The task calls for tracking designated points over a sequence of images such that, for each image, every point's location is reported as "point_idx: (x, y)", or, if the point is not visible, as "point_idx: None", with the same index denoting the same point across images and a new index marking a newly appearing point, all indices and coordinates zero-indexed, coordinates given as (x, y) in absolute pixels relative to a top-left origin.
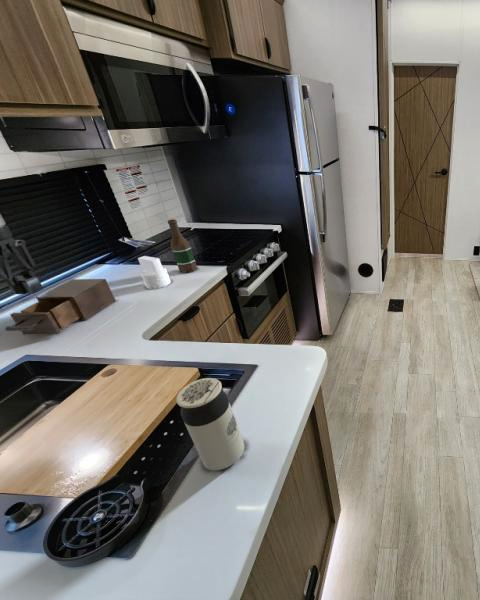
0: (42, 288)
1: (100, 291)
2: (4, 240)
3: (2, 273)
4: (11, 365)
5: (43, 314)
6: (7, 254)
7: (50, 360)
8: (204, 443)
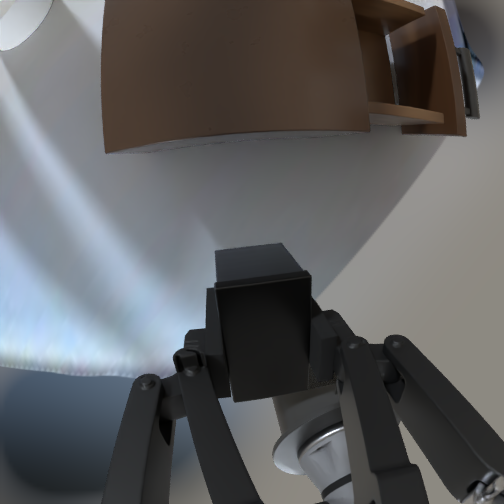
0: (222, 250)
1: None
2: None
3: (413, 359)
4: (478, 73)
5: (445, 19)
6: None
7: (454, 9)
8: None
